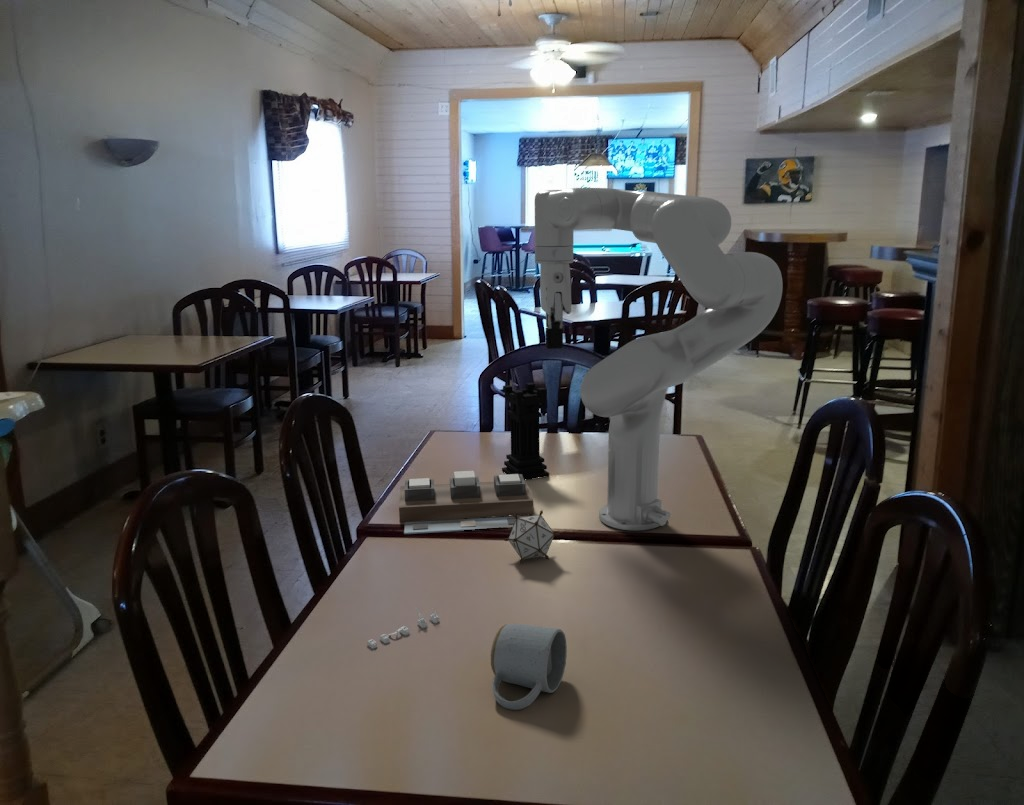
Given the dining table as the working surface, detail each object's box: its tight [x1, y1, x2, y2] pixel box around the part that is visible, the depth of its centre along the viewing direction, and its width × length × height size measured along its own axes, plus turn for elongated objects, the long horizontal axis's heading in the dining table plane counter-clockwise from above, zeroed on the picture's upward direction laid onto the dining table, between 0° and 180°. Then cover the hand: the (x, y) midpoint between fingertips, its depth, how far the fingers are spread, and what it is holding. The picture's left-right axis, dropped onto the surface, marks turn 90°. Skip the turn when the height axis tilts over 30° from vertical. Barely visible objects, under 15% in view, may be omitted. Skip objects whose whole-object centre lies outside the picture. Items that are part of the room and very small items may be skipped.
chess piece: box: [501, 382, 550, 480], centre depth 179 cm, size 8×8×20 cm
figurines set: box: [366, 607, 440, 650], centre depth 115 cm, size 12×3×3 cm, turn 130°
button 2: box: [499, 474, 520, 484], centre depth 162 cm, size 4×4×2 cm
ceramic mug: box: [490, 623, 568, 711], centre depth 101 cm, size 11×8×8 cm
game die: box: [503, 509, 560, 565], centre depth 138 cm, size 9×8×10 cm
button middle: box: [453, 470, 476, 486], centre depth 161 cm, size 4×4×2 cm
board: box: [398, 474, 534, 535], centre depth 158 cm, size 18×26×5 cm
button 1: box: [408, 477, 430, 489], centre depth 160 cm, size 4×4×2 cm
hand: (554, 347), depth 161 cm, fingers closed
